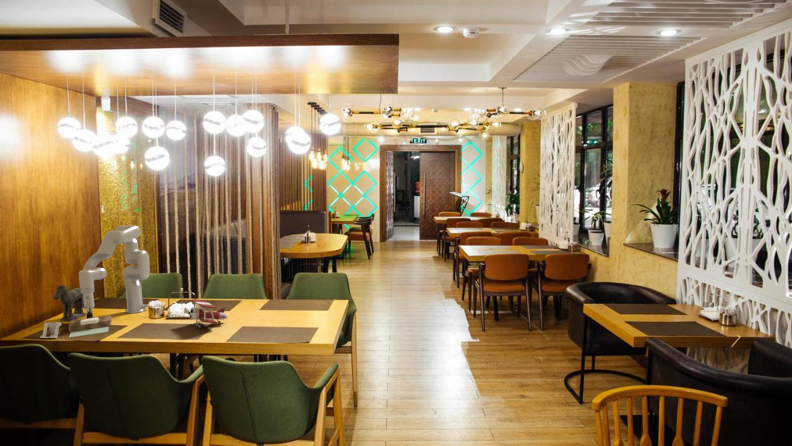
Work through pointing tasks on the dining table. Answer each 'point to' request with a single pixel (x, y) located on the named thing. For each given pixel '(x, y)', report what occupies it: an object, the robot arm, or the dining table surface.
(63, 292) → the statue
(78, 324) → the deck
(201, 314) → the toy airplane
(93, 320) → the cream rectangular block
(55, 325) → the portable electronic device stand
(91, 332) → the mat
